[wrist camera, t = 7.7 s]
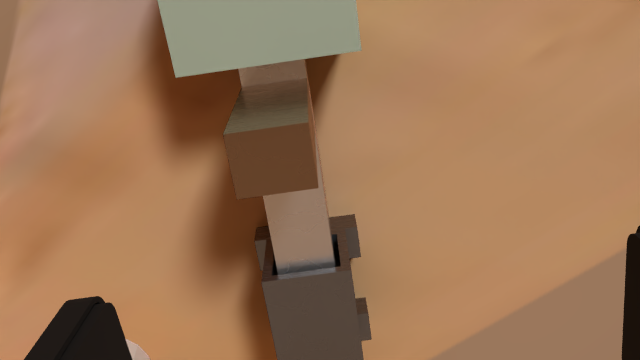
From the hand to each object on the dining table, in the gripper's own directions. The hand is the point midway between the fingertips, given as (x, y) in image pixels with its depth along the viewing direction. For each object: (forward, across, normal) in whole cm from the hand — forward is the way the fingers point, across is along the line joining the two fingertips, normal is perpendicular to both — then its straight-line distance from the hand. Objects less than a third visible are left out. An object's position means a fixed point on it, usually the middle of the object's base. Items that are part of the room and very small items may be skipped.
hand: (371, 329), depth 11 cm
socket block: (+23, +3, -5) cm, 24 cm away
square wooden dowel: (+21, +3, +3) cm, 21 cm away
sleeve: (+23, +3, +13) cm, 27 cm away
